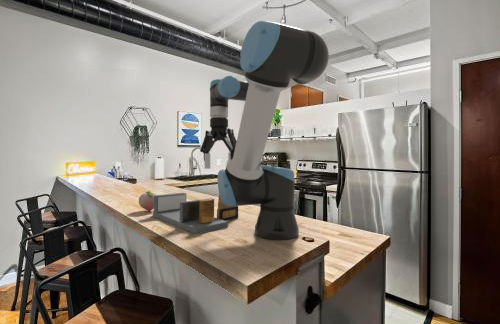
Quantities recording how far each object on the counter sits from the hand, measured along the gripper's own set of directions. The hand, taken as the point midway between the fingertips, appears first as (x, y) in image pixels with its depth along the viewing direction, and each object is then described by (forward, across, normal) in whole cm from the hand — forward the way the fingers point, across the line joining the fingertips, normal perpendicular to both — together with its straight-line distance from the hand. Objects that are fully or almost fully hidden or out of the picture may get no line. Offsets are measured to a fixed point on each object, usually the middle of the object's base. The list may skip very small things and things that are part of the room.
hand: (218, 168), depth 109 cm
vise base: (+21, +8, +10) cm, 25 cm away
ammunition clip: (+21, -3, -2) cm, 22 cm away
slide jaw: (+19, -2, +12) cm, 23 cm away
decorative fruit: (+20, +36, +10) cm, 42 cm away
